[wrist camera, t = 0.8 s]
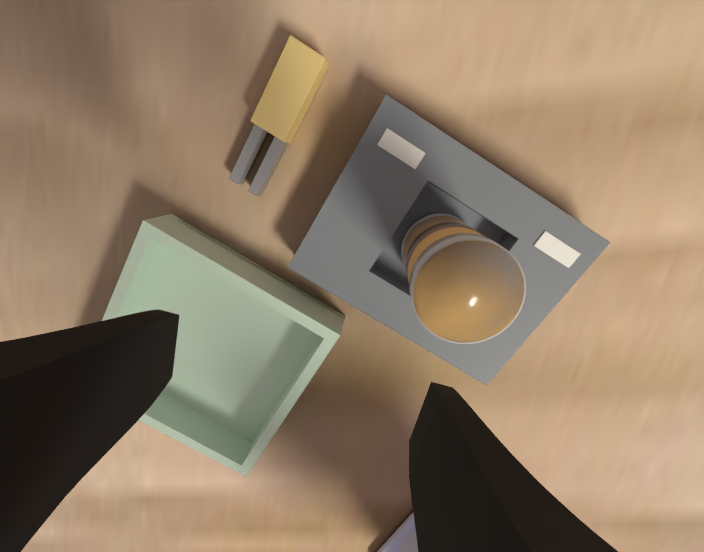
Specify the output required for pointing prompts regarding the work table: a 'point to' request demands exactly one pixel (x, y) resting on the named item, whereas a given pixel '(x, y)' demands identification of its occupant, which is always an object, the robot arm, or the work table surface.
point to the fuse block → (427, 197)
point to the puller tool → (280, 110)
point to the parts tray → (223, 339)
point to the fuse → (460, 279)
